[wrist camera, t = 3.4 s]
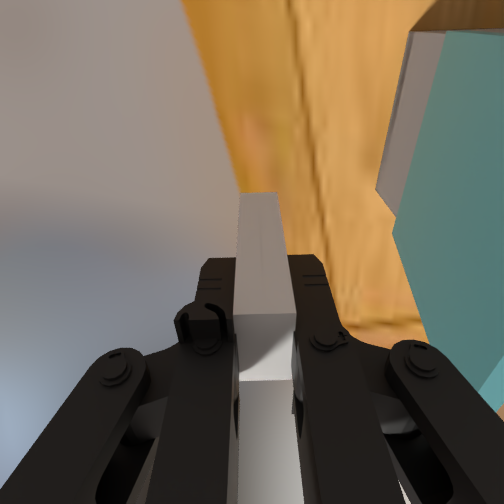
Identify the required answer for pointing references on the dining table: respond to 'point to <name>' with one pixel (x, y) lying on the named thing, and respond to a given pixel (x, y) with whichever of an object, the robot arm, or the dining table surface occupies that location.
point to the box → (410, 111)
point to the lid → (460, 211)
